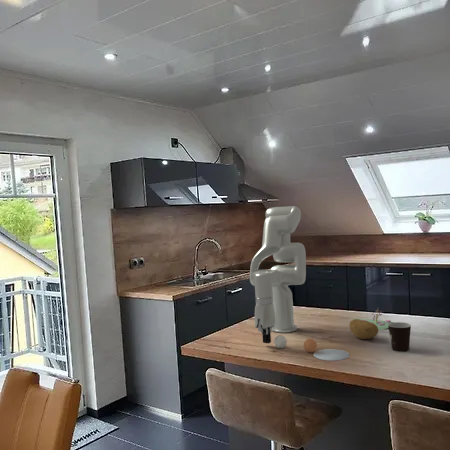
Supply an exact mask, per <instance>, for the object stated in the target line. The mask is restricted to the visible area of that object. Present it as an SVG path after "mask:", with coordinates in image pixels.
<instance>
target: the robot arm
mask: <svg viewBox="0 0 450 450" xmlns="http://www.w3.org/2000/svg"><path fill="white" fill-rule="evenodd" d="M301 211H302V210H301V209H300V207H298V206H296V205H289V206H275V207H274V206H273V207H269V208H267V209H266V211H265V220H264V223H263V231H262V242H261V243H262V244H261V247H260V249H259V250H258V251H257V252H256V253H255V254H254V256H253V258H252V259H251V262H250V270H249V282H250V284H251V285H252V286H253V287H254V292H255V307H254V327H255V328H258V329H257V332H259V333H261V334H262V335H261V336H262V343H264V344H267V345H268V344H271V342H272V335H271V333H272V332H274V333H291V332H295V331H297V330H298V326H297V325H296V324H295V320H294V318H295V317H294V302H293V292H292V290H291V288H290V287H289V285H290V286H297V285H298V286H300V285H304V284H305V282H306V280H307V279H306V278H307V277H306V276H307V269H306V268H307V266H306V265H307V263H306V262H307V254H306V253H307V252H306V248H305V245H304V244H303V243H301V242H291V234H293V233H294V232H295V231H296V229H297V227H298V225H299V224H300V221H301V219H302V213H301ZM270 256H272V257H273V260H274V262H276V263H295V264H277V265H273V266H272V267H271V268H270V269H259V268H260V264H261V263H262V262H263V261H264V260H265V259H266V258H268V257H270Z"/></svg>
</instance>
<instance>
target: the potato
mask: <svg viewBox="0 0 450 450" xmlns="http://www.w3.org/2000/svg"><path fill="white" fill-rule="evenodd" d="M360 319H361V318H360ZM360 319H355V318H354V320H353V319H352V320H351V321H349V329H350V332H351V333H352V334H353V335H354V336H356V338H358V339H361V340H372V339H374V338H375V337H376V336H377V335H378V334H379V330H378V327H377V326H376V325H375V324H374V323H371V322H368V321H365V320H360Z"/></svg>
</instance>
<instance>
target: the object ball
mask: <svg viewBox="0 0 450 450" xmlns="http://www.w3.org/2000/svg"><path fill="white" fill-rule="evenodd" d="M317 348H318V344H317V341H316V340H314V339H313V338H308V339H306V340H305V341H304V342H303V349H304V350H305V351H306V352H307V353H315V352H316V350H317Z"/></svg>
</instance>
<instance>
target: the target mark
mask: <svg viewBox="0 0 450 450" xmlns="http://www.w3.org/2000/svg"><path fill="white" fill-rule="evenodd" d="M313 357H314V358H316V359H318V360H321V361H328V362H329V361H330V362H333V361H334V362H335V361H342V360H346V359H348V358H349V357H350V353H349V352H348V351H347V350H343V349H335V348H327V349H321V350H320V349H319V350H317V351H314V352H313Z"/></svg>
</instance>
